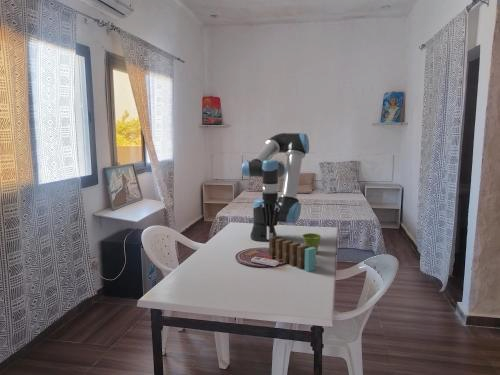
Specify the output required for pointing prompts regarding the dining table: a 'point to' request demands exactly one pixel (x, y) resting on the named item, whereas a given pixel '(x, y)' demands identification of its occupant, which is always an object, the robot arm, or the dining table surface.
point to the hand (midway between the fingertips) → (269, 238)
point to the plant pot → (311, 240)
